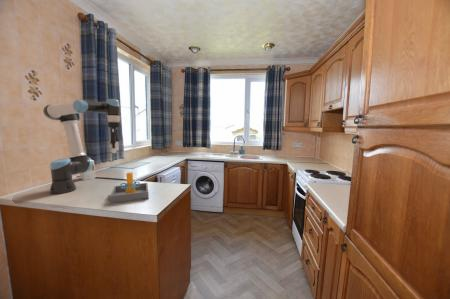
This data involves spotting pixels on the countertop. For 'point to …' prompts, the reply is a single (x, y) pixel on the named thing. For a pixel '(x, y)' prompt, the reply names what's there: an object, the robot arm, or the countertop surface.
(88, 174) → the clear glass vessel
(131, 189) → the orange toy
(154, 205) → the countertop surface
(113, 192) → the bin
